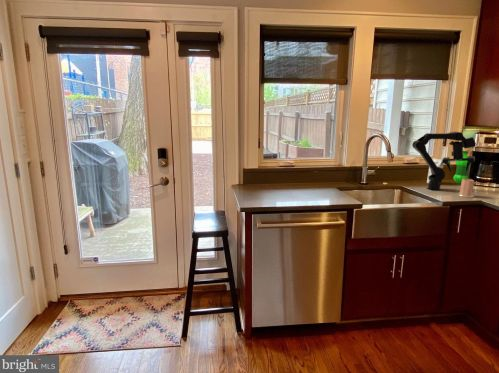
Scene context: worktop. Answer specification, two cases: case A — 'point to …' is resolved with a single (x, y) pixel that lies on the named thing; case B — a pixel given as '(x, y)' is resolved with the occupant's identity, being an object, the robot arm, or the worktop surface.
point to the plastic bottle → (461, 169)
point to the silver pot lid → (465, 196)
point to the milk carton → (438, 164)
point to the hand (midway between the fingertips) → (458, 171)
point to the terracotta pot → (466, 187)
